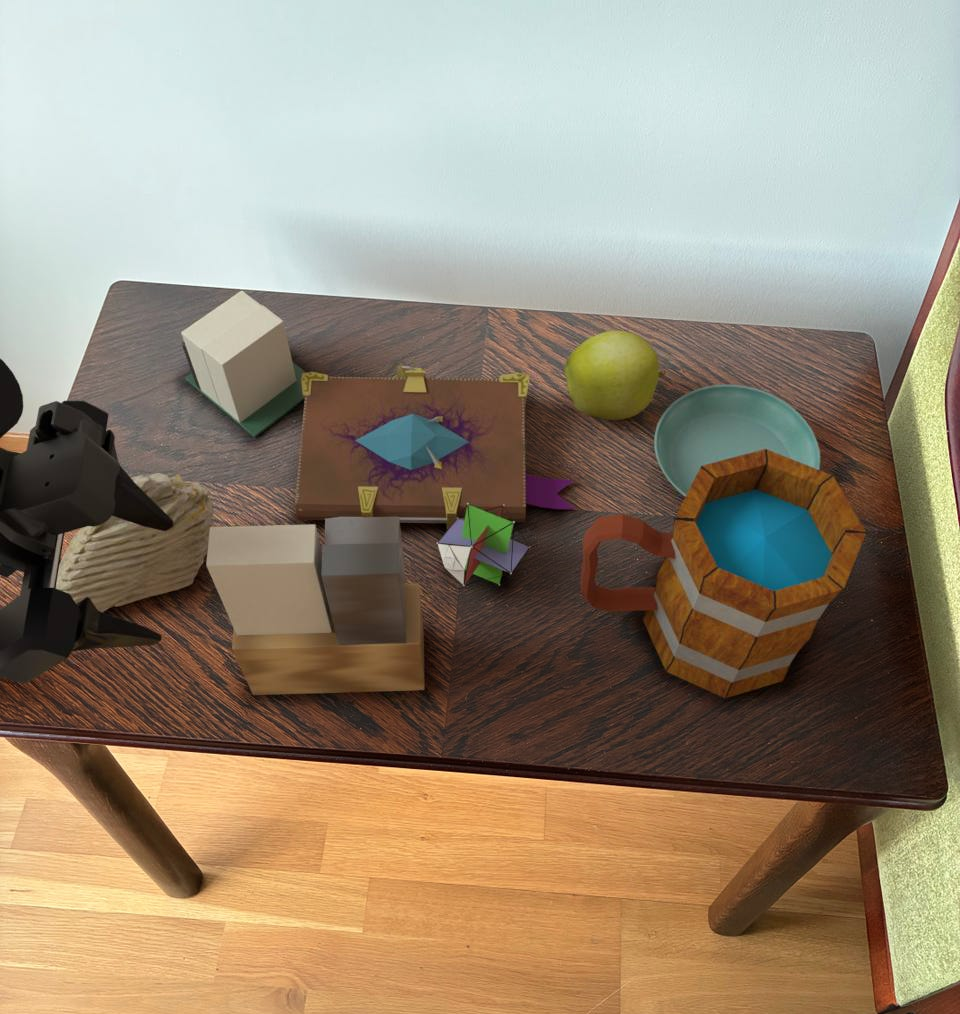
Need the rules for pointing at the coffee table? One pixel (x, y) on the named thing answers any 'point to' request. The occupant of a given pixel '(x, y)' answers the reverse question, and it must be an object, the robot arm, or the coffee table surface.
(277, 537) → the cream rectangular block
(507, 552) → the geometric puzzle
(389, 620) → the wood and grey block
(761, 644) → the mug
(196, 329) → the cream and green block
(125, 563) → the fossil tooth
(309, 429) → the book
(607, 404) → the apple
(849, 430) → the coffee table surface
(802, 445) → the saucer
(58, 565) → the robot arm
